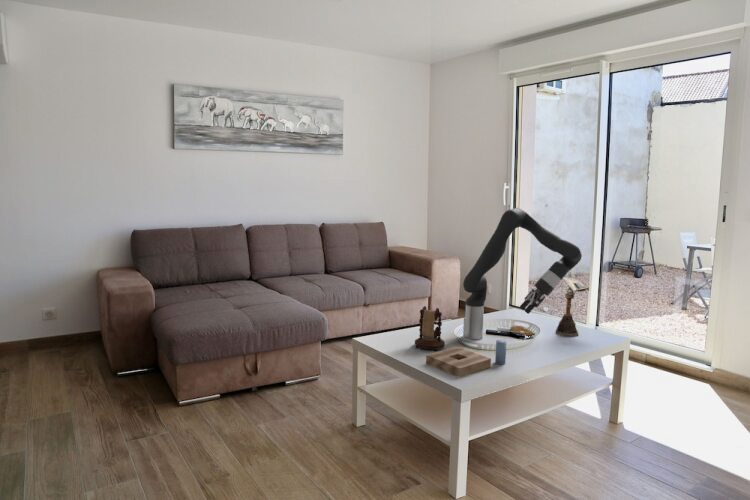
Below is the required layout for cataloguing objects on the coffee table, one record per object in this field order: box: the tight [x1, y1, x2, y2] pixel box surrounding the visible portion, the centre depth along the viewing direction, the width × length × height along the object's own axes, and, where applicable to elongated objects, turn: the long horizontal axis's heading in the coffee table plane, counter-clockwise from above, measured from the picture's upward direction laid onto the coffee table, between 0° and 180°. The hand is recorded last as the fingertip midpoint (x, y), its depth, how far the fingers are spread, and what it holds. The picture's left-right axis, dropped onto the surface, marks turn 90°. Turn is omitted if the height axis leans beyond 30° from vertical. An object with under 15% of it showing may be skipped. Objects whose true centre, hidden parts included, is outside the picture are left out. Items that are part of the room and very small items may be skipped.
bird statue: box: [555, 270, 590, 338], centre depth 277 cm, size 17×13×35 cm
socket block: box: [425, 346, 492, 378], centre depth 230 cm, size 20×20×4 cm
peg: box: [494, 339, 507, 366], centre depth 234 cm, size 4×4×10 cm
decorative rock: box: [509, 325, 536, 338], centre depth 278 cm, size 11×4×15 cm
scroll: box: [414, 305, 446, 352], centre depth 254 cm, size 15×15×20 cm
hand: (523, 310), depth 231 cm, fingers open, 8 cm apart
